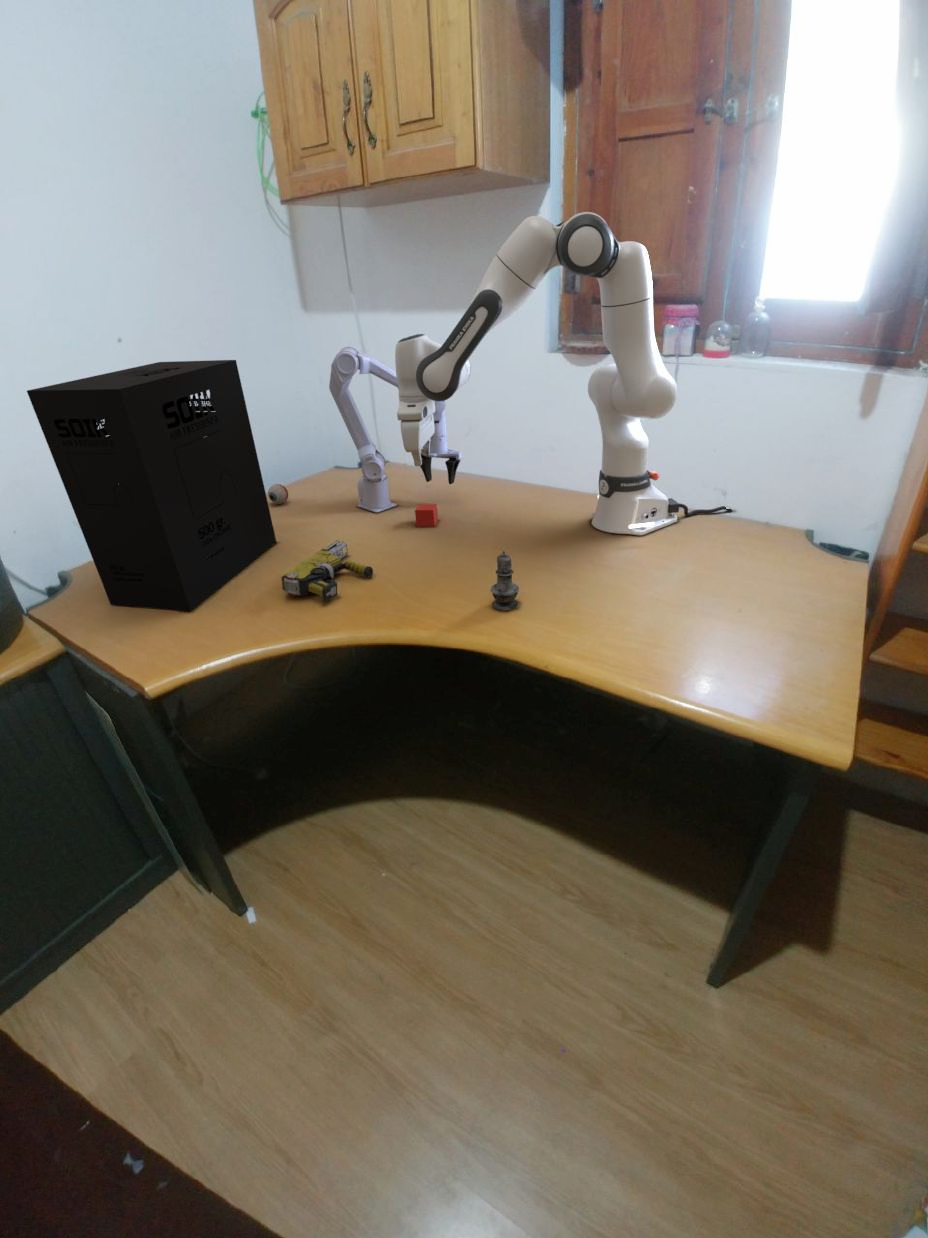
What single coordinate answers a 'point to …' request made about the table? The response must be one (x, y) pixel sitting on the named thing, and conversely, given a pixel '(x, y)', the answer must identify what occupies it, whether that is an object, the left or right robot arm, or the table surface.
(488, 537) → the table surface
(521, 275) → the right robot arm
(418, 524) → the cube
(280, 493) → the eyeball
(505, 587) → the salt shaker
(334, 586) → the toy gun
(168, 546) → the cardboard box
